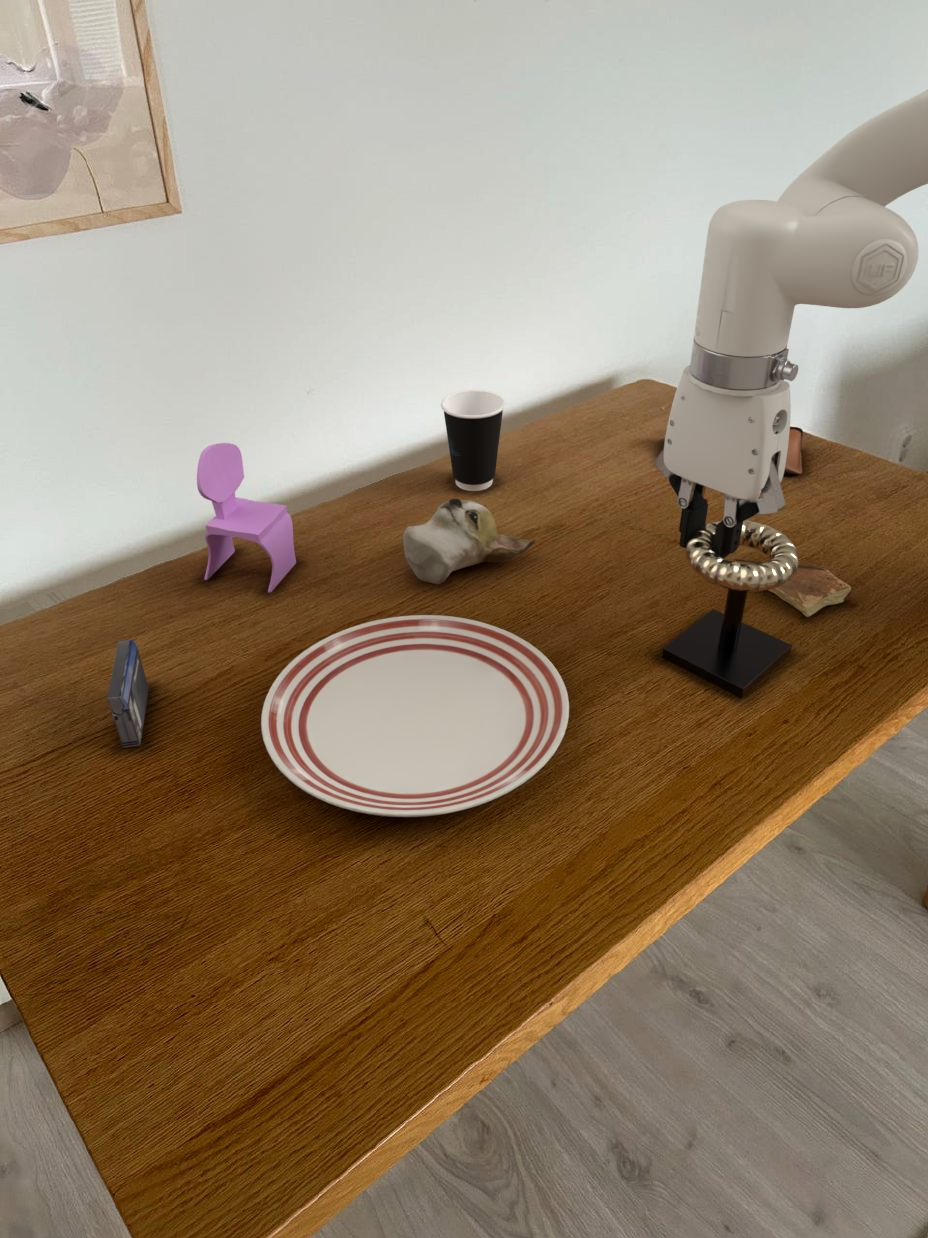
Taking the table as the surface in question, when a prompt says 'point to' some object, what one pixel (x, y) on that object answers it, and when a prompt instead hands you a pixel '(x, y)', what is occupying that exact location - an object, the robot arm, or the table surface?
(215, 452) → the toy chair
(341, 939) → the table surface
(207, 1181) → the table surface
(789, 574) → the ribbed metal ring
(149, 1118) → the table surface
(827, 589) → the shard
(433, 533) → the ceramic sculpture
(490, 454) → the dixie cup
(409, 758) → the dinner plate
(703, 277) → the robot arm
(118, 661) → the mini dv tape
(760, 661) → the stand
